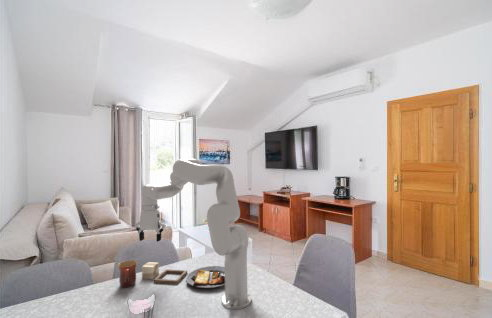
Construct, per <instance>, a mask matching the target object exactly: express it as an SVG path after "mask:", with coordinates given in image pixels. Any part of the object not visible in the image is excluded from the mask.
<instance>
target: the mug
mask: <svg viewBox="0 0 492 318" xmlns="http://www.w3.org/2000/svg"><path fill="white" fill-rule="evenodd" d="M137 264H138V261H137V260H136V259H134V260H133V259H132V260H131V259H130V260H124V261H120V262H119V263H117V268H118V273H119V279H118V283H119V286H120V287H121V288H129V287H133V286H134V285H135V284H136V282H137Z"/></svg>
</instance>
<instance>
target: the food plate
mask: <svg viewBox="0 0 492 318" xmlns="http://www.w3.org/2000/svg"><path fill="white" fill-rule="evenodd" d="M210 272H213V273H210ZM218 272H219V273H218ZM222 273H223V274H225V266H220V265H218V266H217V265H213V266H209V265H208V266H205V267H199V268H196V269H193V270H192V271H191V272H189V273H188V274H187V277H186V280H185V282H186V284H188V285H189V286H191V287H194V288H198V289H199V288H200V289H214V288H215V289H216V288H218V287H219V288H220V287H225V275H224V276H222V275H223V274H222ZM220 275H221V276H220Z"/></svg>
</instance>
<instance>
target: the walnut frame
mask: <svg viewBox="0 0 492 318" xmlns="http://www.w3.org/2000/svg"><path fill="white" fill-rule="evenodd" d="M171 273H172V274H174V275H179V276H178V277H177V278H176V279H166V278H164V279H163V277H165V275H167V274H171ZM187 275H188V270H183V269H167V268H166V269H164V270H163V271H162V272H161V273H159V274H158V275H157V276H156V277H154V278H153V284H167V285H178V284H179V283H180V282H181V281H182V280H183V279H184V278H185V277H186V276H187Z"/></svg>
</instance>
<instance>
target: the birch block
mask: <svg viewBox="0 0 492 318" xmlns="http://www.w3.org/2000/svg"><path fill="white" fill-rule="evenodd" d="M159 265H160V263H159V262H158V261H157V262H153V261H152V262H151V261H148V262H146V263H144V265H142V267H141V278H142V279H150V280H151V279H152V280H154V279H155V278H156V277H157V276H159V275H160V268H159V267H160V266H159Z"/></svg>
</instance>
